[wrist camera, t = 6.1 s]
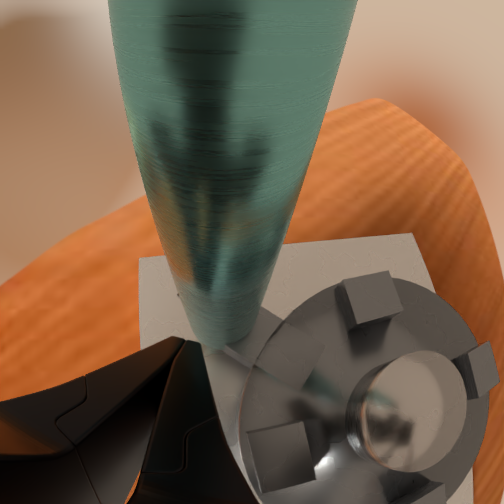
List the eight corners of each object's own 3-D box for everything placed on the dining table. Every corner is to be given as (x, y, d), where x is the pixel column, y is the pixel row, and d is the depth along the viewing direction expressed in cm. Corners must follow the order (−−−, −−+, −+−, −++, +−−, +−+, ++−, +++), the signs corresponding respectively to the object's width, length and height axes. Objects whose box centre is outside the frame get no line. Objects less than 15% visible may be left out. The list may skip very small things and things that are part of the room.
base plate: (454, 524, 9) (473, 529, 7) (204, 604, 7) (202, 621, 5) (398, 247, 20) (412, 231, 18) (147, 273, 17) (138, 257, 15)
